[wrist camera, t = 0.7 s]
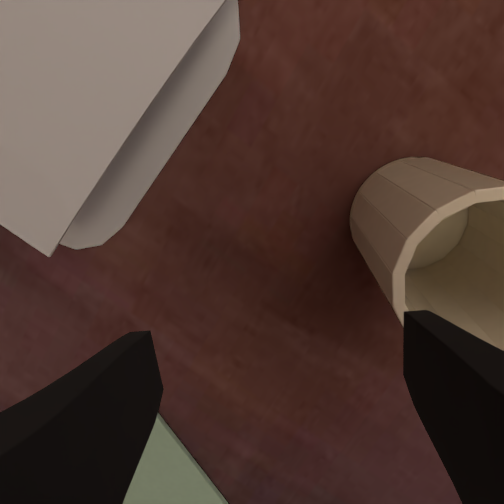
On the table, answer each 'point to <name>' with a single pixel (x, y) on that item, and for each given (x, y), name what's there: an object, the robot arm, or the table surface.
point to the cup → (435, 242)
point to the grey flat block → (99, 106)
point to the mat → (170, 473)
